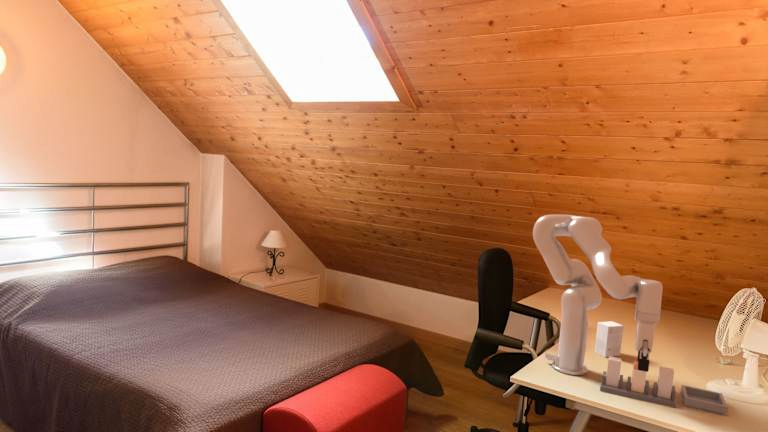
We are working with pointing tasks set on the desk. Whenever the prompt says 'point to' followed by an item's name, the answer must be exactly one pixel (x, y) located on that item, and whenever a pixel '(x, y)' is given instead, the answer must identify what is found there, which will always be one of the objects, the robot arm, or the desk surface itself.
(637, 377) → the marked fuse
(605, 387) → the fuse holder
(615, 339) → the small box
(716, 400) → the grey tray
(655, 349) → the desk surface
